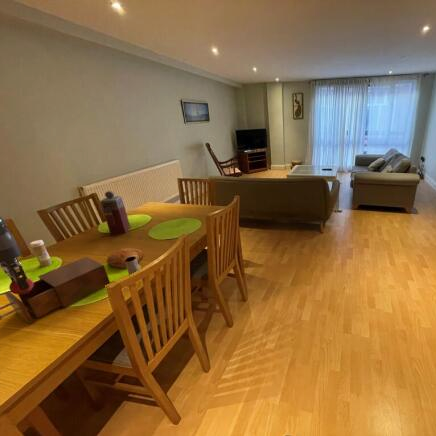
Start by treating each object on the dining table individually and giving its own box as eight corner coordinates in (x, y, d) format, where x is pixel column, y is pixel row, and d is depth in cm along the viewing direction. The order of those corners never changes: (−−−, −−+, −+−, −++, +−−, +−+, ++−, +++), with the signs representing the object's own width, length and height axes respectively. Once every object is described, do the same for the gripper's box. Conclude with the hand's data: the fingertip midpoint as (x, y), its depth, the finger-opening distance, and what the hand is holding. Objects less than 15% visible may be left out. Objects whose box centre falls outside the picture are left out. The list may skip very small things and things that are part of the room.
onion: (17, 301, 85) (6, 283, 82) (12, 295, 88) (2, 277, 85) (39, 292, 90) (30, 274, 87) (34, 286, 93) (25, 269, 90)
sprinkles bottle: (48, 267, 122) (37, 243, 117) (38, 267, 121) (26, 244, 116) (55, 262, 126) (44, 239, 121) (45, 262, 125) (34, 240, 120)
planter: (137, 273, 116) (131, 255, 112) (143, 276, 114) (138, 257, 110) (128, 279, 112) (122, 260, 108) (135, 281, 110) (129, 262, 106)
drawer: (6, 336, 82) (-7, 316, 78) (-8, 321, 87) (-20, 302, 84) (80, 297, 99) (72, 280, 96) (65, 288, 105) (57, 271, 101)
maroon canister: (109, 236, 153) (95, 194, 142) (116, 229, 163) (103, 189, 152) (124, 235, 155) (112, 193, 144) (130, 228, 165) (119, 188, 154)
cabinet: (64, 309, 94) (54, 287, 90) (48, 297, 101) (37, 276, 97) (111, 285, 108) (103, 264, 104) (93, 275, 115) (86, 256, 110)
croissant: (123, 276, 118) (119, 263, 114) (102, 264, 123) (98, 252, 119) (149, 260, 130) (147, 248, 126) (130, 251, 135) (127, 239, 131)
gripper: (-24, 246, 81) (0, 286, 88) (-10, 256, 75) (14, 298, 82) (8, 237, 87) (28, 275, 94) (23, 246, 81) (43, 286, 88)
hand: (21, 286), depth 88 cm, fingers closed on onion, 5 cm apart
